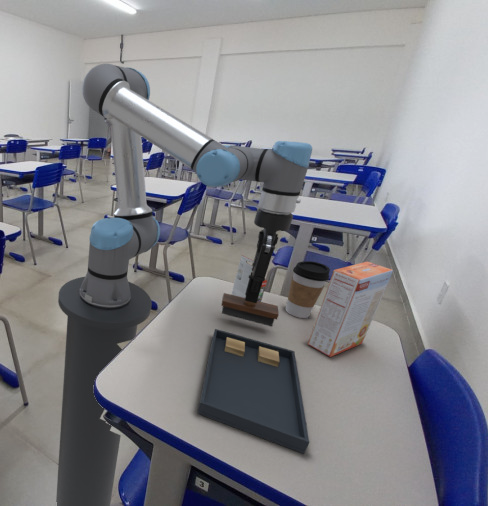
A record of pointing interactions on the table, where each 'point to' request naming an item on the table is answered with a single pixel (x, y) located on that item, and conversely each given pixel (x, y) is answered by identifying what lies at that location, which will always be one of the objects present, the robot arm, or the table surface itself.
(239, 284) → the ink box
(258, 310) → the brush
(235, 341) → the tan square block
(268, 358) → the chip
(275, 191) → the robot arm
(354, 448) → the table surface
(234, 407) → the tray
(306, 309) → the coffee cup
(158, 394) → the table surface
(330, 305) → the cracker box
